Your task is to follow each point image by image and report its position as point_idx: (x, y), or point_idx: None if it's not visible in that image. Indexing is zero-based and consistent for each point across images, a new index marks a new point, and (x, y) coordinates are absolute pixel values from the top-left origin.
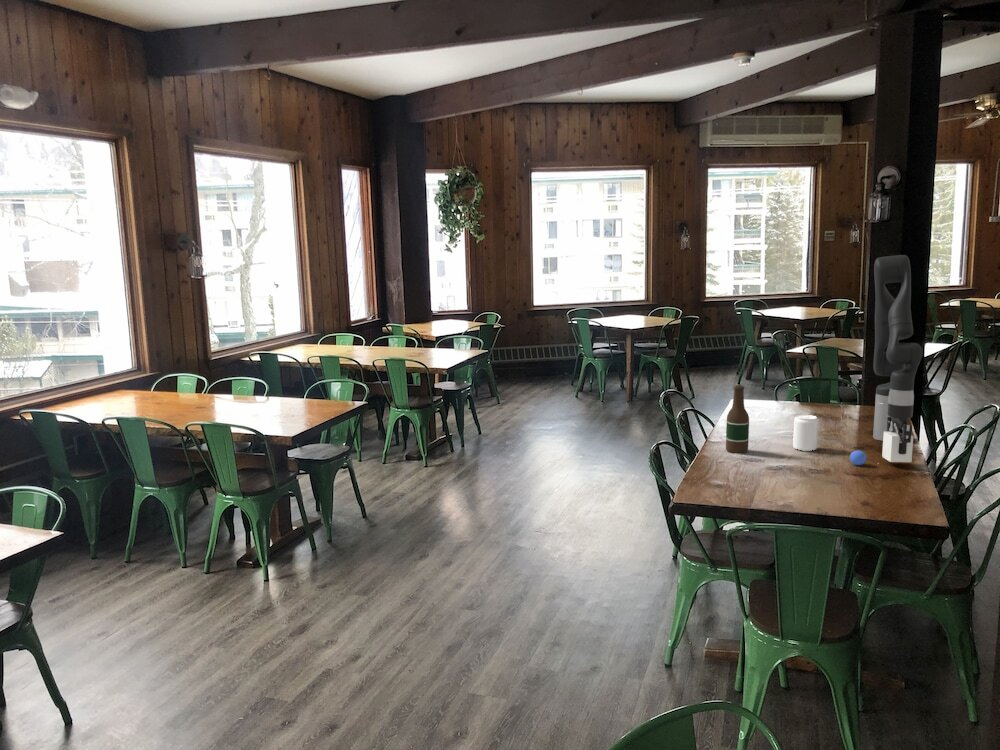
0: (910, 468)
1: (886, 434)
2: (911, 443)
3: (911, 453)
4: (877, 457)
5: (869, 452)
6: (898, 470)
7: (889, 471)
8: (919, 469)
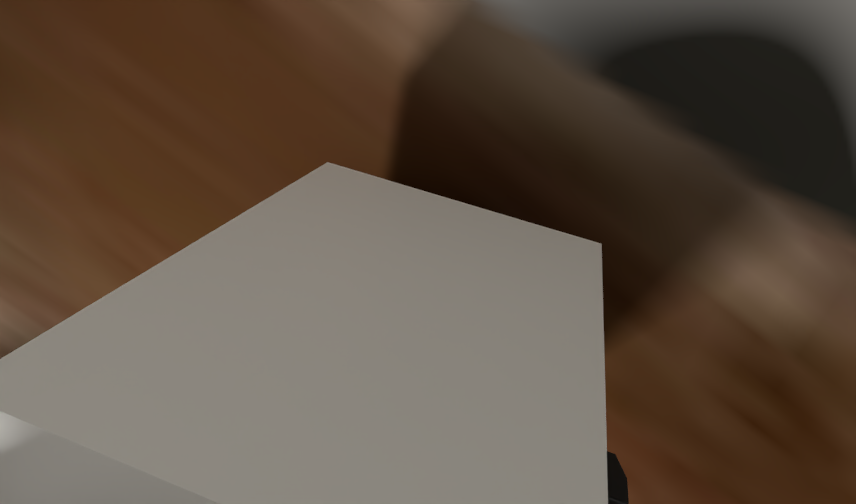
0: (610, 228)
1: None
2: (593, 472)
3: (599, 319)
4: (165, 249)
5: (7, 200)
6: (632, 395)
7: (630, 483)
8: (694, 153)
